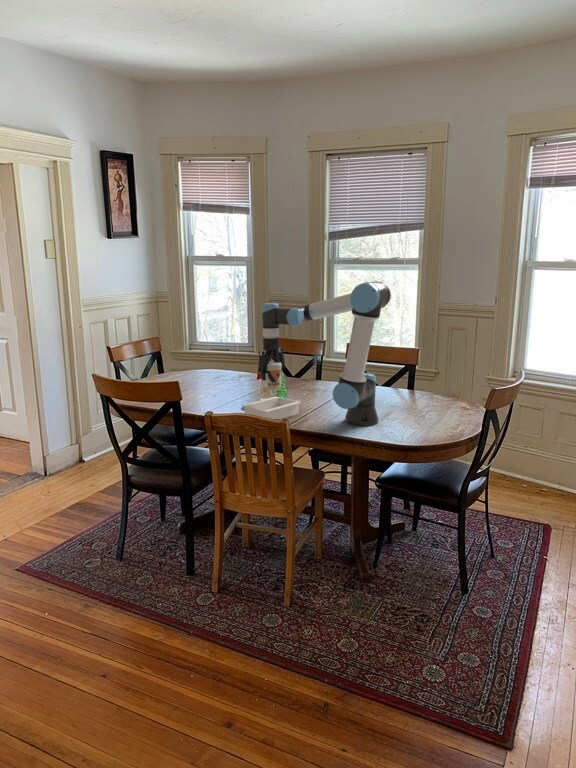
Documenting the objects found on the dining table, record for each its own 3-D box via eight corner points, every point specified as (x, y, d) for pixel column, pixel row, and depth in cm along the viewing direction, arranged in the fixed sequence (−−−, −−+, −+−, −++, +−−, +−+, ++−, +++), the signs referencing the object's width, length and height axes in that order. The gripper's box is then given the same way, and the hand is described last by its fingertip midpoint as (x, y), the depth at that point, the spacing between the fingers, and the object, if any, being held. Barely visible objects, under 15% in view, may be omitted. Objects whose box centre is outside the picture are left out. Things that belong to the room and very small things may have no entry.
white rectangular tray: (276, 408, 285) (276, 396, 284) (301, 414, 274) (301, 402, 272) (242, 417, 269) (241, 405, 267) (267, 424, 257) (267, 411, 256)
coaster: (267, 409, 284) (267, 407, 283) (251, 413, 276) (251, 412, 276) (252, 405, 291) (252, 404, 291) (236, 409, 283) (236, 408, 283)
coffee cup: (264, 391, 262) (264, 365, 260) (260, 387, 271) (259, 361, 269) (284, 389, 265) (284, 364, 262) (279, 385, 274) (278, 360, 271)
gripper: (281, 334, 273) (282, 380, 278) (248, 339, 258) (250, 388, 263) (292, 335, 268) (293, 382, 273) (260, 340, 253) (261, 390, 258)
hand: (272, 385), depth 268 cm, fingers closed on coffee cup, 8 cm apart
